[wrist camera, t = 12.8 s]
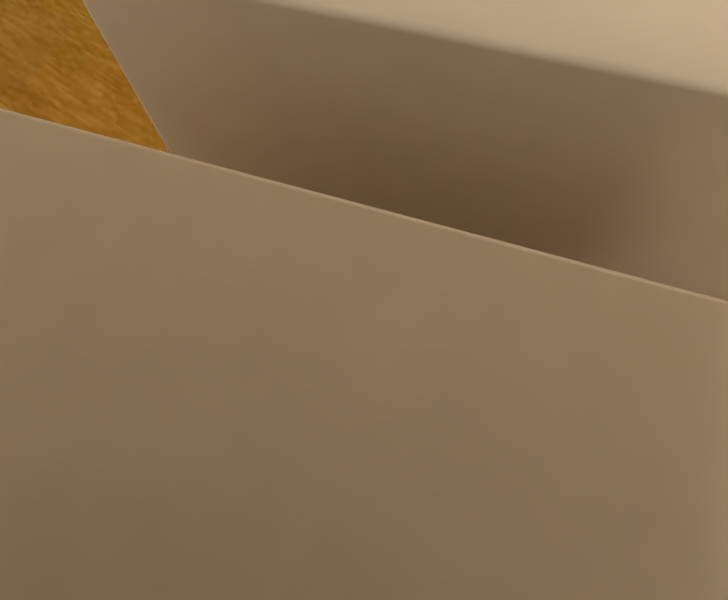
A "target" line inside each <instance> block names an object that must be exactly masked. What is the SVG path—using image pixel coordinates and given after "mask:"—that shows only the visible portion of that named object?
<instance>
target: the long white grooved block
mask: <svg viewBox="0 0 728 600" xmlns="http://www.w3.org/2000/svg"><path fill="white" fill-rule="evenodd" d="M82 2H83V3H84V5H85V7H86V9H87V10H88V12H89V14H90V16H91V17H92V19H93V21H94V22H95V24H96V26H97V28H98V29H99V31H100V33H101V35H102V36H103V38H104V40H105V42H106V43H107V45H108V47H109V49H110V50H111V52H112V54H113V55H114V57H115V59H116V61H117V62H118V64H119V66H120V68H121V69H122V71H123V73H124V75H125V76H126V78H127V80H128V82H129V83H130V85H131V87H132V88H133V90H134V92H135V94H136V95H137V97H138V99H139V101H140V102H141V104H142V106H143V108H144V109H145V111H146V113H147V115H148V116H149V118H150V120H151V121H152V123H153V125H154V127H155V128H156V130H157V132H158V134H159V135H160V137H161V139H162V141H163V142H164V144H165V146H166V148H167V149H168V151H169V153H171V154H175V155H179V156H183V157H186V158H190V159H194V160H198V161H201V162H205V163H209V164H213V165H217V166H220V167H224V168H228V169H232V170H235V171H239V172H243V173H247V174H251V175H254V176H258V177H262V178H266V179H269V180H273V181H277V182H281V183H285V184H288V185H292V186H296V187H300V188H303V189H307V190H311V191H315V192H319V193H322V194H326V195H330V196H334V197H337V198H341V199H345V200H349V201H353V202H356V203H360V204H364V205H368V206H371V207H375V208H379V209H383V210H387V211H390V212H394V213H398V214H402V215H405V216H409V217H413V218H417V219H421V220H424V221H428V222H432V223H436V224H439V225H443V226H447V227H451V228H455V229H458V230H462V231H466V232H470V233H473V234H477V235H481V236H485V237H489V238H492V239H496V240H500V241H504V242H507V243H511V244H515V245H519V246H523V247H526V248H530V249H534V250H538V251H541V252H545V253H549V254H553V255H556V256H560V257H564V258H568V259H572V260H575V261H579V262H583V263H587V264H590V265H594V266H598V267H602V268H606V269H609V270H613V271H617V272H621V273H624V274H628V275H632V276H636V277H640V278H643V279H647V280H651V281H655V282H658V283H662V284H666V285H670V286H674V287H677V288H681V289H685V290H689V291H692V292H696V293H700V294H704V295H708V296H711V297H715V298H719V299H723V300H726V301H728V0H82Z"/></svg>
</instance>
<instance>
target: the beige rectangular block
mask: <svg viewBox="0 0 728 600" xmlns="http://www.w3.org/2000/svg"><path fill="white" fill-rule="evenodd" d="M0 600H728V301H726V300H723V299H719V298H715V297H711V296H708V295H704V294H700V293H696V292H692V291H689V290H685V289H681V288H677V287H674V286H670V285H666V284H662V283H658V282H655V281H651V280H647V279H643V278H640V277H636V276H632V275H628V274H624V273H621V272H617V271H613V270H609V269H606V268H602V267H598V266H594V265H590V264H587V263H583V262H579V261H575V260H572V259H568V258H564V257H560V256H556V255H553V254H549V253H545V252H541V251H538V250H534V249H530V248H526V247H523V246H519V245H515V244H511V243H507V242H504V241H500V240H496V239H492V238H489V237H485V236H481V235H477V234H473V233H470V232H466V231H462V230H458V229H455V228H451V227H447V226H443V225H439V224H436V223H432V222H428V221H424V220H421V219H417V218H413V217H409V216H405V215H402V214H398V213H394V212H390V211H387V210H383V209H379V208H375V207H371V206H368V205H364V204H360V203H356V202H353V201H349V200H345V199H341V198H337V197H334V196H330V195H326V194H322V193H319V192H315V191H311V190H307V189H303V188H300V187H296V186H292V185H288V184H285V183H281V182H277V181H273V180H269V179H266V178H262V177H258V176H254V175H251V174H247V173H243V172H239V171H235V170H232V169H228V168H224V167H220V166H217V165H213V164H209V163H205V162H201V161H198V160H194V159H190V158H186V157H183V156H179V155H175V154H171V153H167V152H164V151H160V150H156V149H152V148H149V147H145V146H141V145H137V144H133V143H130V142H126V141H122V140H118V139H115V138H111V137H107V136H103V135H99V134H96V133H92V132H88V131H84V130H81V129H77V128H73V127H69V126H65V125H62V124H58V123H54V122H50V121H47V120H43V119H39V118H35V117H31V116H28V115H24V114H20V113H16V112H13V111H9V110H5V109H1V108H0Z"/></svg>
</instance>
